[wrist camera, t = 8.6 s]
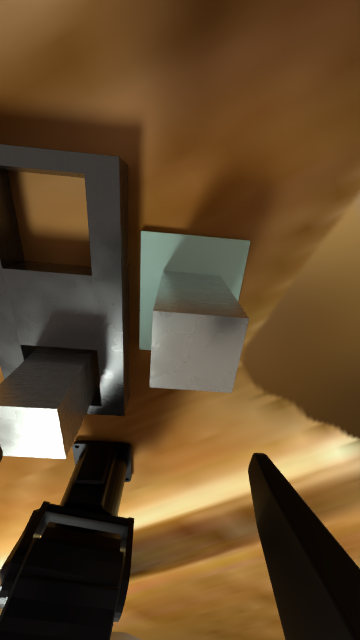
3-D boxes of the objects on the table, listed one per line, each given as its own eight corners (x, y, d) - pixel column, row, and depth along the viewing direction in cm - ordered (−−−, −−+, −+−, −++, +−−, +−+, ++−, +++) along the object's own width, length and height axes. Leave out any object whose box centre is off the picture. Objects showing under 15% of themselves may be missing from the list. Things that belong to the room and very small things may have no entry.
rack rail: (129, 396, 24) (124, 415, 21) (29, 390, 23) (13, 409, 21) (127, 164, 15) (118, 156, 13) (-29, 148, 15) (-66, 137, 13)
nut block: (212, 327, 20) (231, 392, 13) (160, 323, 20) (149, 387, 13) (220, 275, 18) (249, 318, 11) (163, 270, 18) (152, 310, 11)
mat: (226, 353, 22) (227, 355, 21) (140, 346, 21) (139, 349, 21) (248, 240, 17) (250, 240, 17) (141, 230, 17) (141, 231, 17)
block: (101, 380, 23) (65, 458, 16) (54, 377, 23) (-3, 455, 16) (98, 341, 21) (56, 409, 14) (47, 337, 21) (-22, 404, 14)
